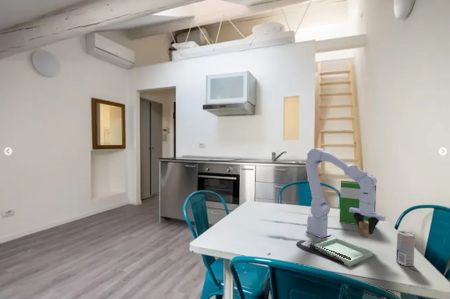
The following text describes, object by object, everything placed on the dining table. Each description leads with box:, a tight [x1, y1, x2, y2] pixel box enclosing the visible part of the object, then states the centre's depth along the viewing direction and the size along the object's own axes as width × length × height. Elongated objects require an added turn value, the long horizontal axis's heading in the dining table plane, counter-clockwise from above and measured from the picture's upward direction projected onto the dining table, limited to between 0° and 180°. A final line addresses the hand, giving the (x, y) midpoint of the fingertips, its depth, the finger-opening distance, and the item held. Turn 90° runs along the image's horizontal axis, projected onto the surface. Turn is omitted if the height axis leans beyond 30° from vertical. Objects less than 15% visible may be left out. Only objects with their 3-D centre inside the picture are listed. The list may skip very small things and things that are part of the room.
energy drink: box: [396, 230, 416, 267], centre depth 89 cm, size 5×5×12 cm
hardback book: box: [339, 180, 377, 225], centre depth 135 cm, size 18×7×24 cm, turn 63°
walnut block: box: [358, 220, 374, 239], centre depth 102 cm, size 4×4×6 cm
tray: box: [313, 237, 373, 268], centre depth 97 cm, size 16×16×2 cm
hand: (365, 231), depth 102 cm, fingers closed on walnut block, 4 cm apart
